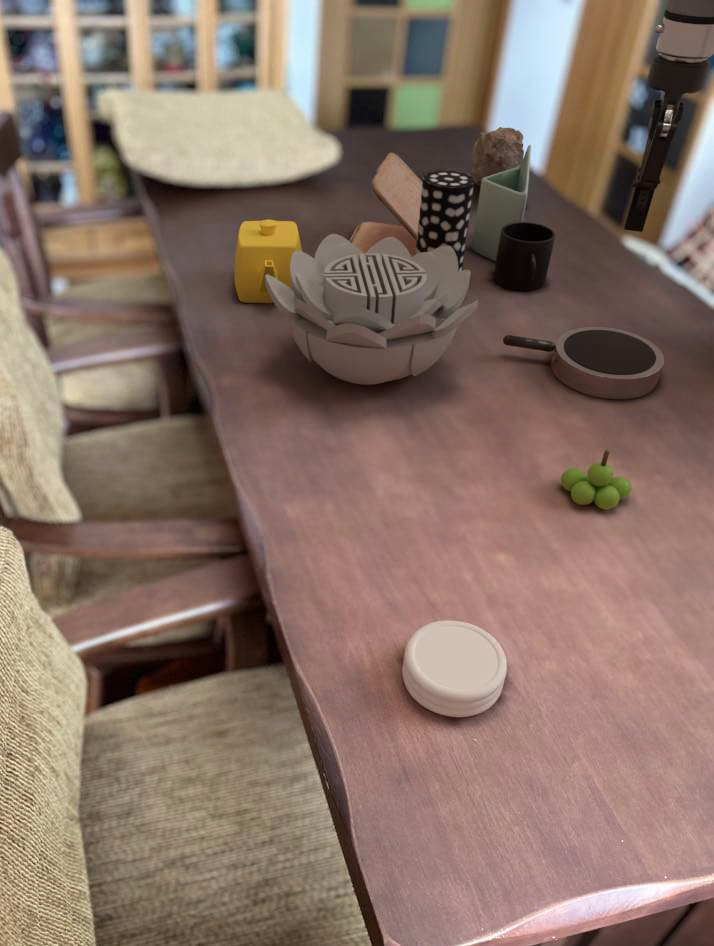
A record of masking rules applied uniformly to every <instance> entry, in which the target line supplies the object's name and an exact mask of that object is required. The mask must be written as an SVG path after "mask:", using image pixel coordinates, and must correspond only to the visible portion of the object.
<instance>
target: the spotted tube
mask: <svg viewBox="0 0 714 946" xmlns="http://www.w3.org/2000/svg"><path fill="white" fill-rule="evenodd" d="M422 183H423V184H422V194H421V204H420V214H419V223H418V233H417V243H416V253H415V255H416V254H418V253H422V252H431V251H432V250H434V249H436V248H439V247H442V246H451V247H452V248H453V249H454V251H455V253H456V255H457V260H458V272H460V271H463V266H464V258H465V253H466V252H465V251H466V246H467V245H466V244H467V238H468V230H469V224H470V215H471V210H472V209H471V208H472V202H473V194H474V188H475V180H474V178H473V177H472V175H471V174H468V173H465V172H461V171H457V170H445V169H444V170H434V171H429V172H427V173H425V174H424V175H423V177H422Z"/></svg>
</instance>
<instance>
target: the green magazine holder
mask: <svg viewBox="0 0 714 946" xmlns="http://www.w3.org/2000/svg"><path fill="white" fill-rule="evenodd" d="M531 155H532V145H531V144H529V145H528V146H527V148H526V150H525V152H524V156H523V161H522V163H521V164H520V165H519V166H518V167H517V168H513V169H510V170H506V171H503V172H500V173H497V174H494V175H490V176H488V177H485V178H483V179H482V182H481V186H480V189H479V195H478V202H477V210H476V216H475V222H474V230H473V236H472V241H471V242H472V243H471V250H472V251H474V252H475V253H477V254H479V255H481V256H483V257H485V258H486V259H489V260H491V261H494V262H495V263H496V258H497V252H498V246H499V240H500V234H501V229H502V228H503V227H504V226H505V225H507V224H510V223H515V222H524V218H525V217H524V216H525V211H526V206H527V201H528V193H529V187H528V182H529V174H530V167H531V166H530V165H531ZM529 183H530V182H529Z"/></svg>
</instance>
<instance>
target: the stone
mask: <svg viewBox="0 0 714 946" xmlns="http://www.w3.org/2000/svg"><path fill="white" fill-rule="evenodd" d="M523 140H524V135H523V133H522V132H521V131H520V130H519V129H518V130H516V129H515V128H512V127H498V128H497V129H496V130H491V131H481V132H480V133H479V137H478V139H477V140H476V141H475V143H474V147H473V149H472V150H471V151H472V154H471V169H470V176H472V177H473V178H474V180H475V182H474V184H475V185H478V186H479V187H481V182H482V179H483V178H485V177H488V176H490V175H494V174H497V173H500V172H503V171H506V170H510V169H513V168H517V167H518V166H519V165H520V164H521V163H522V161H523V158H524V156H525V150H524V143H523ZM531 178H532V177H531V173H529V182H528V188H529V187H530V182H531Z"/></svg>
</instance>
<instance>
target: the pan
mask: <svg viewBox="0 0 714 946" xmlns="http://www.w3.org/2000/svg"><path fill="white" fill-rule="evenodd" d="M502 343H503V344H504V345H505V346H508V347H516V348H521V349H528V350H535V351H540V352H541V351H542V352H547V353H551V352H553V354H552V358H551V363H550V368H551V372H552V374H553V375H554V376H555V377H556V378H557V380H558V381H559V382H561V383H562V385H565V386H567V387H568V388H570V389H571V390H574V391H575V392H579V393H581V394H583V395H587V396H590V397H593V398H594V397H595V398H599V399H605V400H606V399H607V400H632V399H637V398H641V397H643V396H645V395H648V394H649V393H651V392H653V391H654V389H655V388H656V387H657V385H658V382H659V380H660V376H661V373H662V371H663V367H664V365H665V356H664V354H663V352H662V351H661V349H660V348H659V347H658V346H657V345H655V344H654V343H653V342H651V341H650V340H648V339H647V338H646V337H645V338H644V337H642V336H640V335H638V334H635V333H633V332H631V331H626V330H623V329H619V328H614V327H605V326H585V327H578V328H574V329H573V328H572V329H570V330H568V331H566V332H564V333H562V334H561V335H560V336H559V337H558V338H557V339H556V343H554V341H551V340H544V339H537V338H531V337H526V336H518V335H511V334H507V335H505V336H503V338H502Z"/></svg>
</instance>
